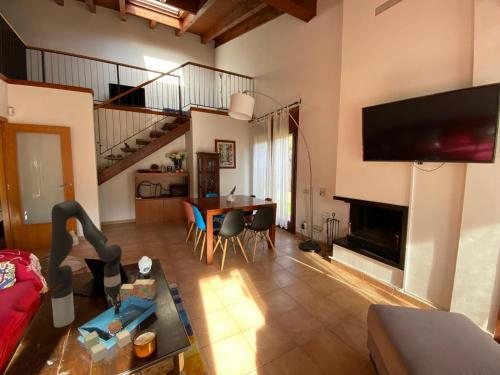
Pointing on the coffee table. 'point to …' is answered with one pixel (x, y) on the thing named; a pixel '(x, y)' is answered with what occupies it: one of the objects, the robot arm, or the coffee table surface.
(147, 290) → the stack of blocks
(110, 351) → the coffee table surface
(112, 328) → the terracotta cube
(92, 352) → the beige cube
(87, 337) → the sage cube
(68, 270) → the robot arm
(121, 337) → the cream cube
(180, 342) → the coffee table surface
